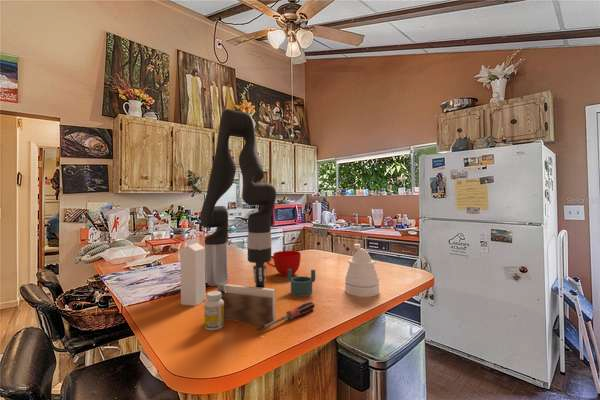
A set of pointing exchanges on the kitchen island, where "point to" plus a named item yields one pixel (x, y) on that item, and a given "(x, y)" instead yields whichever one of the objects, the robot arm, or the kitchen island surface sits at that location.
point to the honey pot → (361, 275)
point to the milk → (192, 273)
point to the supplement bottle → (214, 311)
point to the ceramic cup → (286, 261)
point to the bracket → (301, 284)
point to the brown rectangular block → (247, 308)
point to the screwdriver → (292, 314)
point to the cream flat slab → (249, 292)
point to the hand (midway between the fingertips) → (259, 299)
